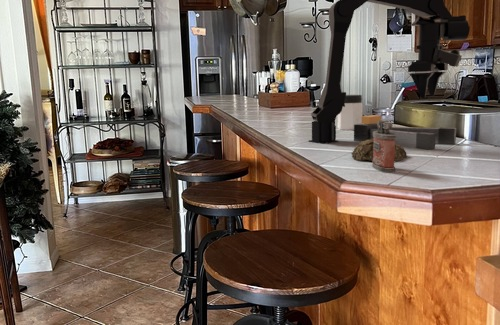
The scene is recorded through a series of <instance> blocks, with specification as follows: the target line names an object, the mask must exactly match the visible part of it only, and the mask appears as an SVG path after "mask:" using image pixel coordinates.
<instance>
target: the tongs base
mask: <svg viewBox="0 0 500 325" xmlns="http://www.w3.org/2000/svg"><path fill="white" fill-rule="evenodd" d="M373 131H378V126H377V123H373V124H364V123H362V124H355V125H354V130H353V141H354V142H359V143H360V142H362V141H366V140H372V139H374V136H373ZM389 132H391V133H394V134H396V139H395V145H400V146H401V147H402V148H411V149H417V150H426V151H433V150H435V149H436V144H435V134H434V133H424V132H421V133H415V132H405V131H395V130H389Z"/></svg>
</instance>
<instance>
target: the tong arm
mask: <svg viewBox="0 0 500 325" xmlns="http://www.w3.org/2000/svg"><path fill="white" fill-rule="evenodd" d="M389 130H395V131H405V132H415V133H421V132H424V133H434V134H435V145H436V144H437V145H438V144H439V145H452V146H453V145H456V144H457V143H456V139H457V138H456V137H457V127H443V126H442V127H417V126H416V127H413V126H410V127H409V126H393V129H389Z"/></svg>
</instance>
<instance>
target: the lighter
mask: <svg viewBox="0 0 500 325" xmlns="http://www.w3.org/2000/svg"><path fill="white" fill-rule="evenodd" d="M377 126H378V131H373V136H374V151H373V161H371V162H372V163H371V164H372V168H373V169H374V170H377V171H378V172H382V173H389V174H391V173H395V172H396V167H395V162H394V151H395V139H396V134H394V133H391V132H389V129H393V127H394V125H393V123H392V122H389V120H381V121H379V122H377Z"/></svg>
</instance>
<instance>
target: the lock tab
mask: <svg viewBox="0 0 500 325" xmlns="http://www.w3.org/2000/svg"><path fill="white" fill-rule="evenodd" d="M379 121H382V115H377V114H376V115H374V114H371V115H362V122H361V123H362V124H373V123H377V122H379Z"/></svg>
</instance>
